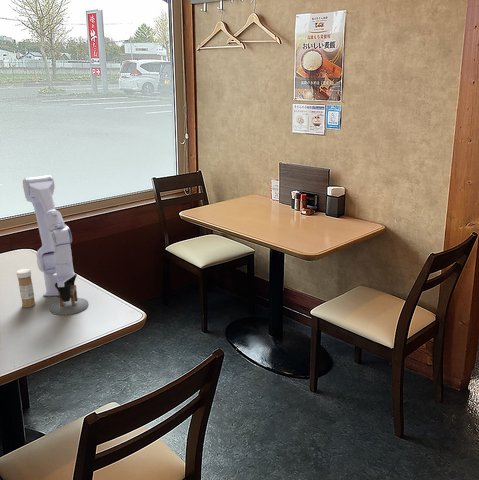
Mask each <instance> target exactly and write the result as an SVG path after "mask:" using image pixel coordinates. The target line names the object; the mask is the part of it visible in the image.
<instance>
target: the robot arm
mask: <svg viewBox="0 0 479 480" xmlns="http://www.w3.org/2000/svg"><path fill="white" fill-rule="evenodd" d="M55 187H56V186H55V181H54V178H53V177H52V176H51V174H47V175H43V176H42V175H41V176H35V177H34V176H33V177H24V178H23V179H22V188H23V192H24V196H25V199H26V201H27V202H30V203H31V204H32V206H33V210H34V213H35V217H36V223H37V227H38V231H39V232H38V233H39V237H40V240H41V247H40V248H39V249H37V251H36V254H35V256H36V262H37V267H38V269H39V271H40V272H41V273H43V277H44V284H45V285H44V286H45V291H44V293H42V294H43V295H42V296H43V297H51V296H52V297H53V296H59V295H58V291H59V293H60V295H61V297H62V300H63V302H67V301H70V290H71V286H72V285H75V283H76V279H77V275H78V274H77V273H75V270H74V265H73V256H72V254H73V253H72V249H71V247H72V246H71V244H72V242H73V236H72V232H71V229H70V227H69V226H68V225H67V224H65V220H64V218H63V216H62V213H61V211H59V210H57V209H56V207H55V202H54V199H53V195H54V191H55Z"/></svg>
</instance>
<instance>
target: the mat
mask: <svg viewBox="0 0 479 480" xmlns="http://www.w3.org/2000/svg"><path fill="white" fill-rule="evenodd" d="M77 299H78V301H75V306H72V303H71V298H70V301H67V302H63V305H64V306H63V307H60V301H59V300H57V301H55V302H53V303H52V304H51V305H50V307H49V310H50V312H51V314H53V315H57V316H70V315H75V314H78V313H81V312H83V311H85V310H86V309H88V307H89V301H88V299H86V298H82V297H77Z"/></svg>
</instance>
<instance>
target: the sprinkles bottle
mask: <svg viewBox="0 0 479 480" xmlns="http://www.w3.org/2000/svg"><path fill="white" fill-rule="evenodd" d="M16 276H17V281H18V286H19V287H18V288H19V293H20V298H21V306H22V307H23V308H32V307H34V306H35V305H36V300H35V293H34V287H33V286H34V285H33V282H32V271H31V269H29V268H21V269H18V270H17V271H16Z"/></svg>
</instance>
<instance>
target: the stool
mask: <svg viewBox="0 0 479 480" xmlns="http://www.w3.org/2000/svg"><path fill="white" fill-rule="evenodd" d="M57 296H58V301H60V307H63V306H64V305H63V300H62V297H61V295H60V293H59V291H58V295H57ZM70 298H71V303H72V306H75V301H78V299H77V298H78V291H77V285H76V284H74V285H72V286H71V290H70Z"/></svg>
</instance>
